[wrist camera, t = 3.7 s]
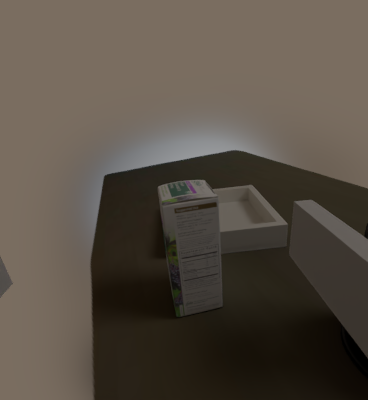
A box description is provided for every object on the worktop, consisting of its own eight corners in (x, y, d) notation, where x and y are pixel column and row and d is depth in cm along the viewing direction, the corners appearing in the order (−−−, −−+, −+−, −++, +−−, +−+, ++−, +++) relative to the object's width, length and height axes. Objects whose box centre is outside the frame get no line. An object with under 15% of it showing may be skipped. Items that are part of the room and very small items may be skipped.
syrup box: (170, 284, 33) (153, 185, 27) (211, 275, 33) (204, 176, 28) (176, 319, 27) (158, 204, 22) (225, 307, 28) (220, 193, 22)
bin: (251, 201, 54) (252, 185, 53) (286, 246, 38) (287, 224, 36) (173, 210, 54) (170, 194, 53) (172, 259, 38) (169, 237, 36)
